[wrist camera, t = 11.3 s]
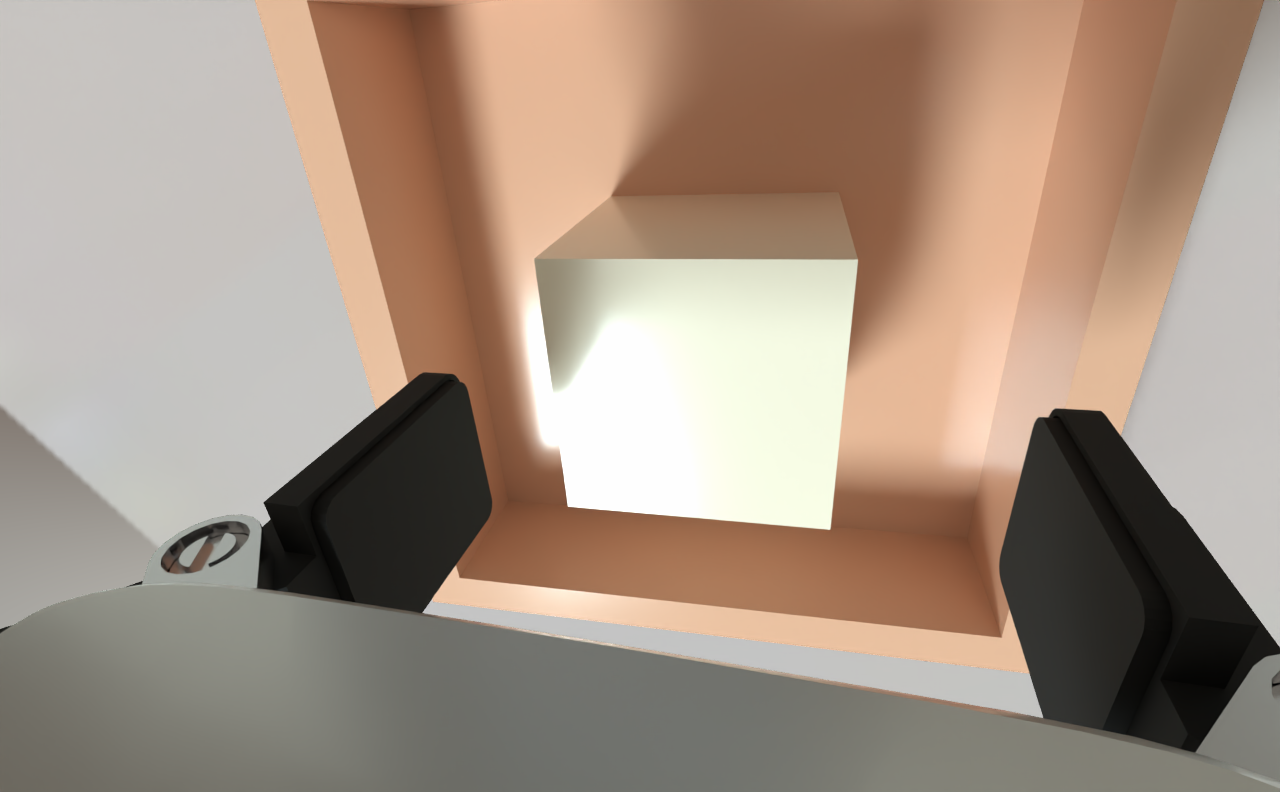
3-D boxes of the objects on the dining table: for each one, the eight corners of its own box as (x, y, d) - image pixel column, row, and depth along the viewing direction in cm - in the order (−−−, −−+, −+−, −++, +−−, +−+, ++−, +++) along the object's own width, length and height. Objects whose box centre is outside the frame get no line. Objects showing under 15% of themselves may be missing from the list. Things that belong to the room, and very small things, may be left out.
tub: (1163, -133, 13) (1335, -217, 9) (994, 553, 21) (1041, 674, 17) (373, -38, 17) (235, -65, 13) (492, 510, 25) (433, 601, 21)
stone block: (838, 191, 16) (858, 259, 11) (821, 399, 19) (830, 529, 14) (610, 196, 18) (534, 258, 12) (625, 390, 20) (568, 506, 15)
